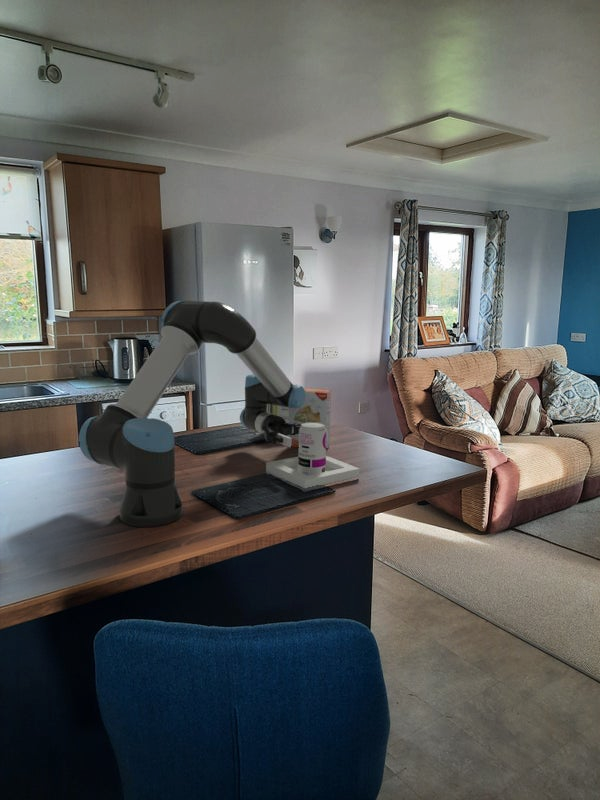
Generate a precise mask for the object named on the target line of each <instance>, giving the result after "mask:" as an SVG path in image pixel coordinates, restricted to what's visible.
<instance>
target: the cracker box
mask: <svg viewBox="0 0 600 800" xmlns="http://www.w3.org/2000/svg"><path fill="white" fill-rule="evenodd" d="M304 389H305V393H306V397H305V401H304V404H303V405H302V406H301V407H300V408H289V424H294V423H295V422H297V423H300V424H303V423H307V422H317V423H322V424H324V425H325V428H326V430H327V432H328V441H326V448H327V447H328V446H329V447H330V438H331V437H330V436H331V435H330V433H331V409H332V407H331V404H332V403H331V401H332V398H331V397H332V390H329V389H327V390H326V389H315V388H304ZM292 433H294V429H292ZM288 437H290V438H292V442H291V446H292V447H291V448H297V447H299V434H296V435H288ZM329 447H328V448H329ZM328 448H327V449H328Z"/></svg>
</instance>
